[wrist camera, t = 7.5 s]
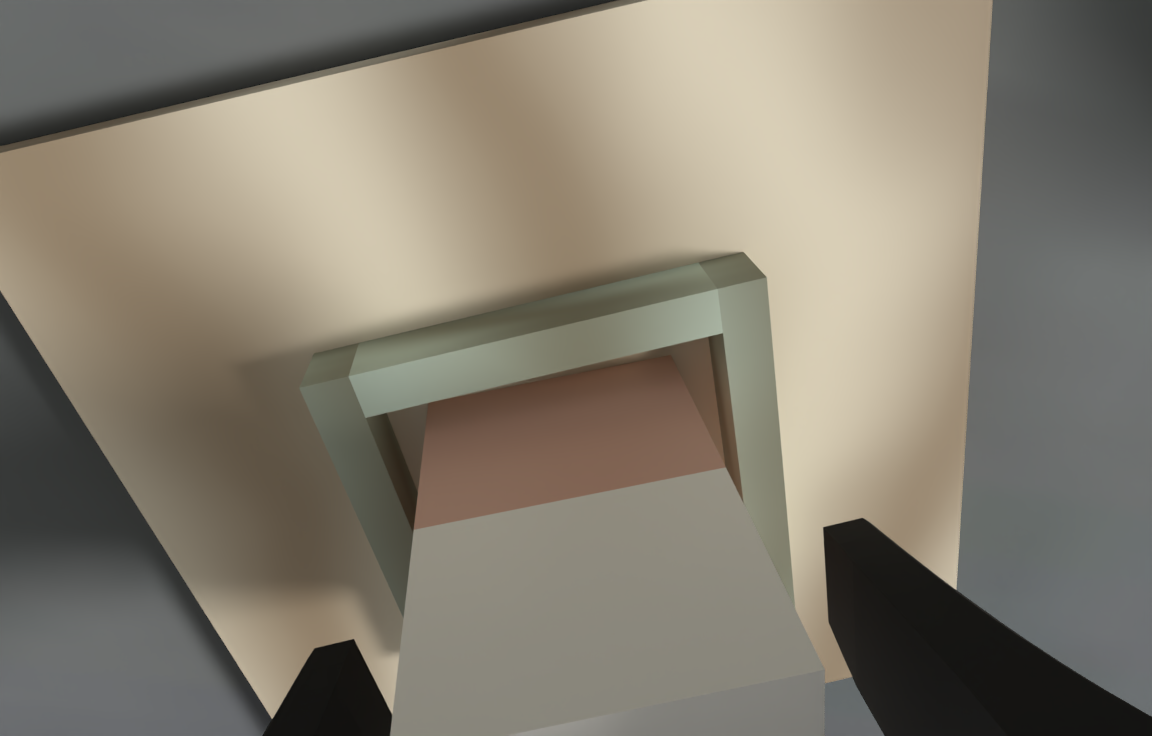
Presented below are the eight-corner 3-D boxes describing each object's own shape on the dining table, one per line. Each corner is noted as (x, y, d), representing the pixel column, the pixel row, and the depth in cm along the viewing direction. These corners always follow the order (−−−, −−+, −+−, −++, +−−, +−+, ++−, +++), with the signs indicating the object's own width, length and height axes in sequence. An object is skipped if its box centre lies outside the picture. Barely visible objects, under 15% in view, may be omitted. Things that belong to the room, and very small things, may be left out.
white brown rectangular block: (482, 581, 16) (484, 972, 10) (428, 402, 14) (387, 760, 8) (691, 539, 16) (823, 899, 10) (670, 354, 14) (824, 670, 8)
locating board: (333, 757, 20) (315, 852, 18) (-28, 152, 12) (-136, 193, 10) (927, 616, 20) (980, 694, 18) (952, -79, 12) (1052, -88, 10)
